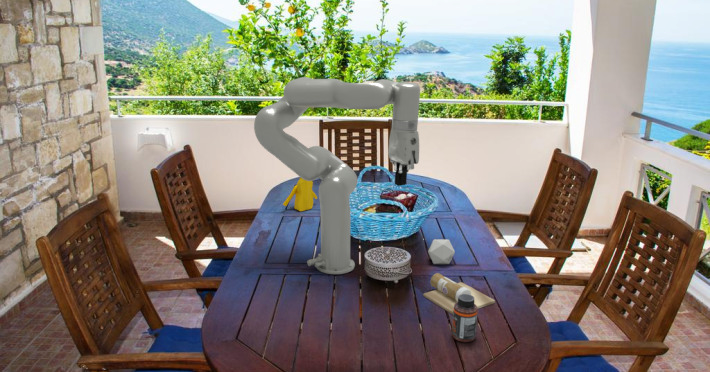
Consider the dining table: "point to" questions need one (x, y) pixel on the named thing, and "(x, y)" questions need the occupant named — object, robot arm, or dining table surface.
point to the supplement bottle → (464, 318)
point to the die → (441, 251)
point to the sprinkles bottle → (448, 286)
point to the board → (449, 302)
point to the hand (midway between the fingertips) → (400, 184)
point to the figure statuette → (302, 195)
